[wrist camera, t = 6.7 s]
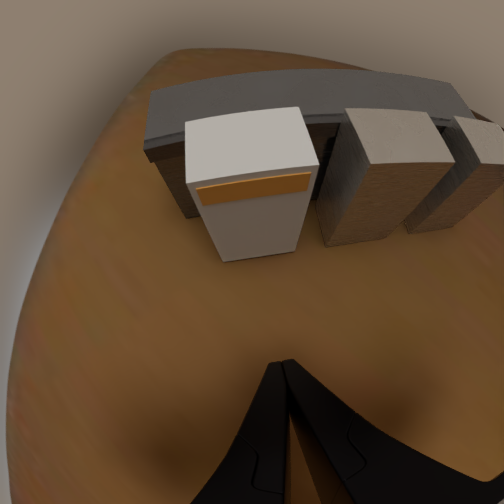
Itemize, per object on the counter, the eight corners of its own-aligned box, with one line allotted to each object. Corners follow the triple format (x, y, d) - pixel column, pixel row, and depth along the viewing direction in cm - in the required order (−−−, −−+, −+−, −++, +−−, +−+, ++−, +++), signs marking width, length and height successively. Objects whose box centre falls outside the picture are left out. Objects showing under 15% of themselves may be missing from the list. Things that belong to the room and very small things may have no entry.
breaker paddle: (295, 251, 18) (319, 165, 9) (222, 262, 18) (185, 184, 9) (285, 208, 19) (298, 105, 10) (218, 217, 19) (185, 121, 10)
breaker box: (452, 227, 18) (522, 165, 9) (189, 267, 18) (128, 198, 9) (418, 149, 20) (462, 75, 12) (184, 171, 20) (146, 77, 12)
